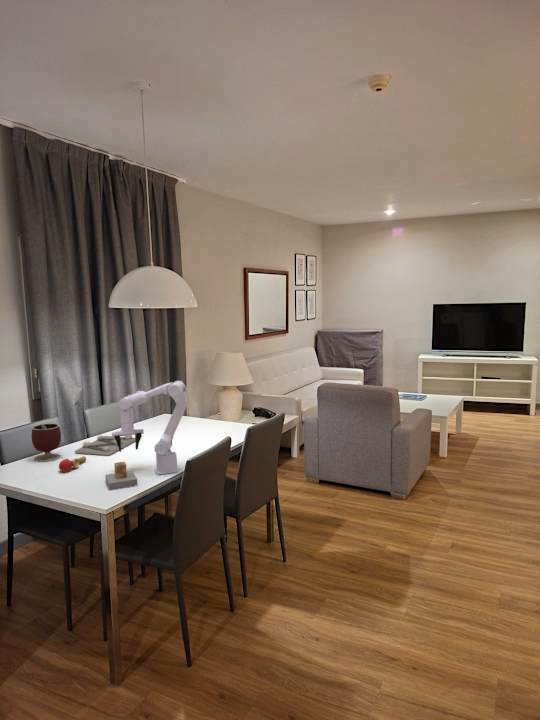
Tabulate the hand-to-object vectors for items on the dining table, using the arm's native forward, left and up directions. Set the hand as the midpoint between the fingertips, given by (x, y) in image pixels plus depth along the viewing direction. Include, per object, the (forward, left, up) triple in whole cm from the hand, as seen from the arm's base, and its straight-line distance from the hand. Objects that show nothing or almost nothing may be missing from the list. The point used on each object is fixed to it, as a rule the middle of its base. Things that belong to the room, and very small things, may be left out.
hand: (128, 450), depth 239 cm
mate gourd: (+35, -38, -11) cm, 53 cm away
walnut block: (+6, +15, -7) cm, 18 cm away
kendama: (+24, -18, -11) cm, 32 cm away
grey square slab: (+6, +15, -10) cm, 19 cm away
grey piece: (+5, -47, -11) cm, 48 cm away
